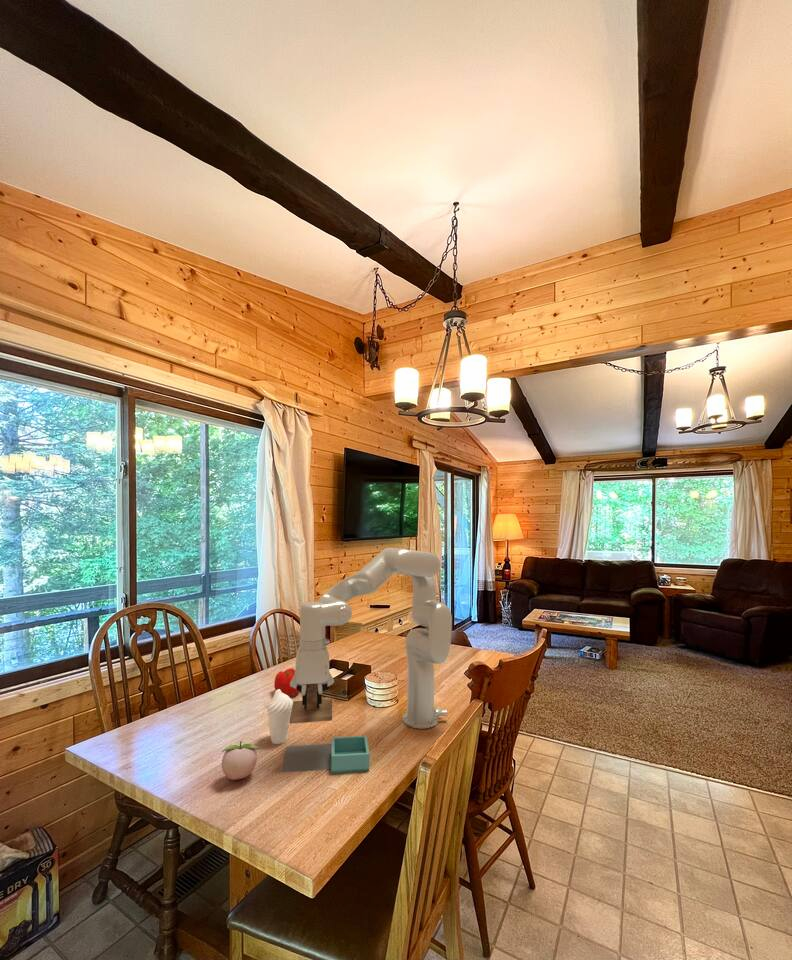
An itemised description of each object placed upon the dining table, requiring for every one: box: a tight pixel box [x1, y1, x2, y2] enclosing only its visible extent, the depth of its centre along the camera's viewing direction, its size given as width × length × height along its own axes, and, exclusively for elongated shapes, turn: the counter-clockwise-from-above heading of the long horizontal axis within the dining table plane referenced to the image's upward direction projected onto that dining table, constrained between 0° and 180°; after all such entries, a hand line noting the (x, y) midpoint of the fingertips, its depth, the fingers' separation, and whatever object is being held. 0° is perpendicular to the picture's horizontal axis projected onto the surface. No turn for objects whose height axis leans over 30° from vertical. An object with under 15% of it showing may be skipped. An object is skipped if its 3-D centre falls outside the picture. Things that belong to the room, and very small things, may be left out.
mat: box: [281, 743, 332, 773], centre depth 129 cm, size 14×14×1 cm
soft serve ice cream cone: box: [266, 689, 293, 745], centre depth 139 cm, size 8×8×16 cm
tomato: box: [273, 667, 300, 697], centre depth 176 cm, size 11×12×9 cm
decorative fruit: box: [221, 741, 259, 781], centre depth 118 cm, size 9×8×10 cm
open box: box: [330, 735, 370, 775], centre depth 127 cm, size 11×11×5 cm
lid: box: [289, 688, 333, 725], centre depth 131 cm, size 12×12×6 cm
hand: (312, 706), depth 131 cm, fingers closed on lid, 3 cm apart
